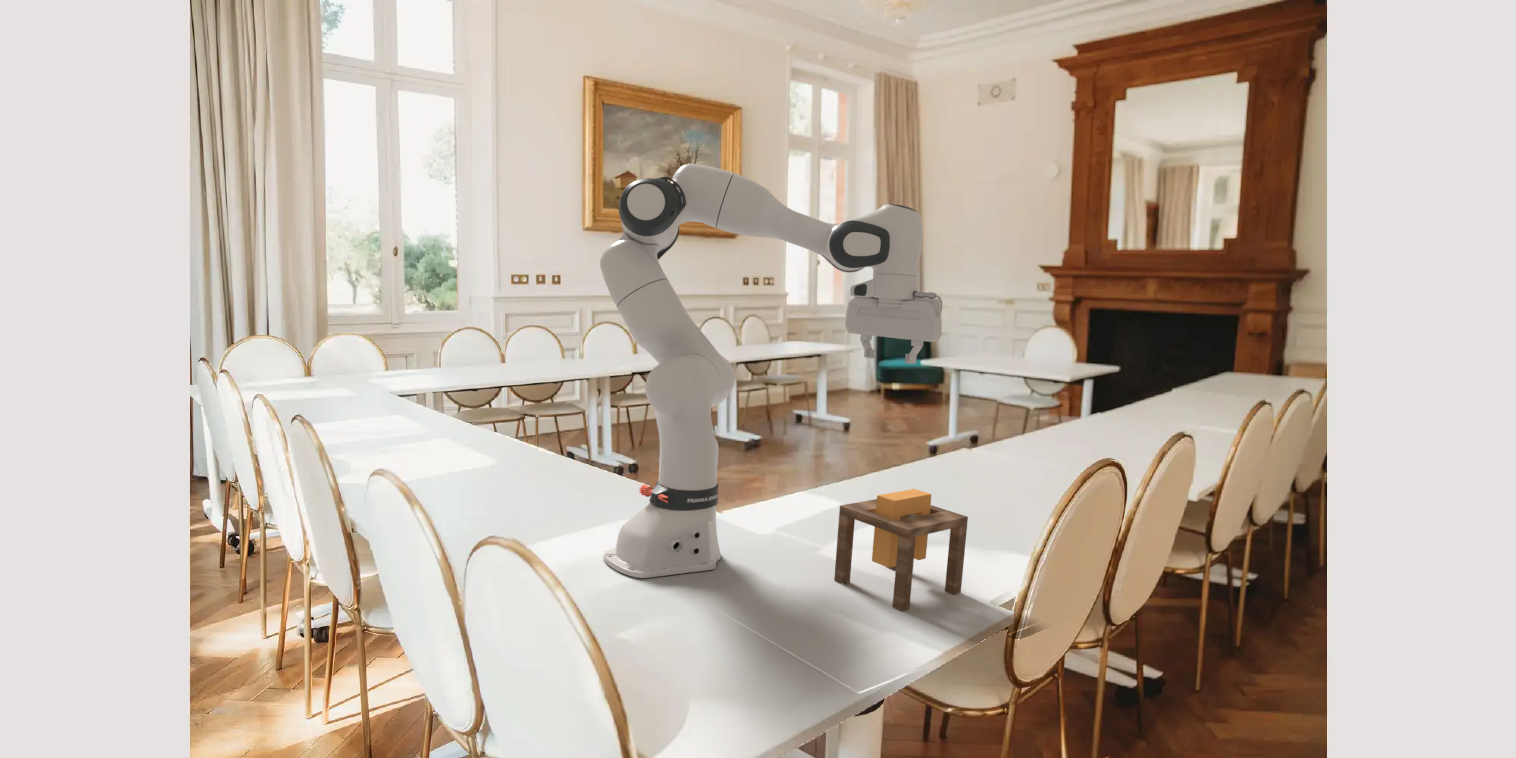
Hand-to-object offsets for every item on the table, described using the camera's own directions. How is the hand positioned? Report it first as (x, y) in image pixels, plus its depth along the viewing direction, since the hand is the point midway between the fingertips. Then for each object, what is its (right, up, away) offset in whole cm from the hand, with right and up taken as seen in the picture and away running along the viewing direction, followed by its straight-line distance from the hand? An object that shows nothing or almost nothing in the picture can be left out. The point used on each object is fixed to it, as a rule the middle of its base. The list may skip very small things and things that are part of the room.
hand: (889, 360), depth 161 cm
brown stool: (-1, -41, -13) cm, 43 cm away
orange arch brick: (0, -36, -14) cm, 39 cm away
